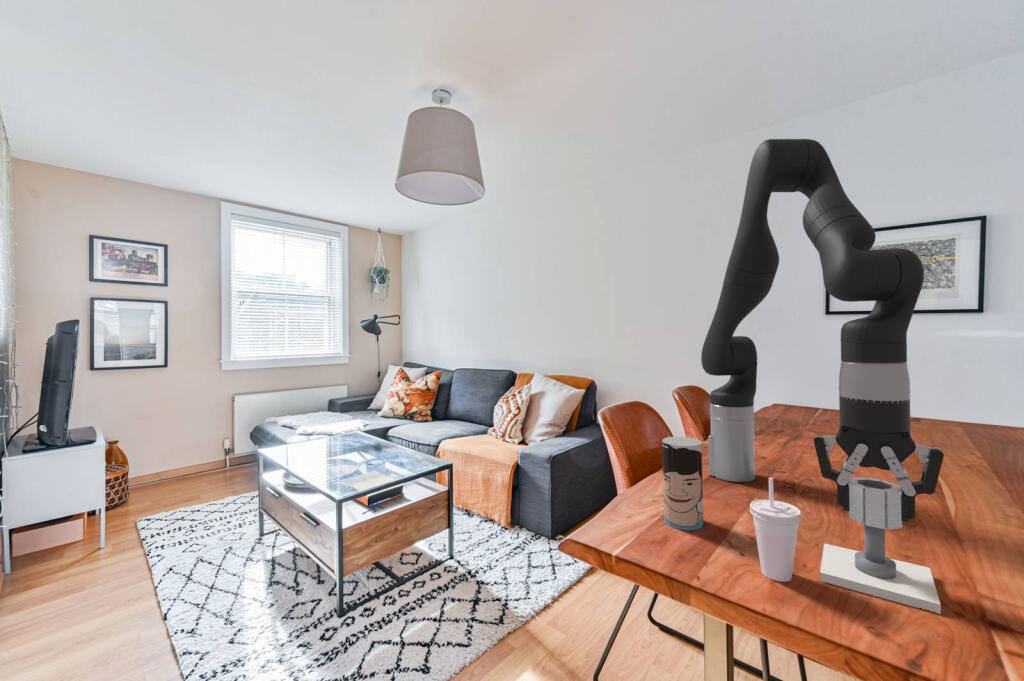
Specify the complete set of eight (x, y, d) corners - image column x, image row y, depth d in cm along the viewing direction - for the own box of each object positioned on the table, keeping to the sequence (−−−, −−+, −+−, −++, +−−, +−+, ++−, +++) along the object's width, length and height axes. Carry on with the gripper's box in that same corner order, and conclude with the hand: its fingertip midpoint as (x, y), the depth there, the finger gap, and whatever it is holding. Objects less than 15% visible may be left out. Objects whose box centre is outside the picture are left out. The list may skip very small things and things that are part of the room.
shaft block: (820, 580, 60) (819, 515, 60) (824, 550, 68) (823, 493, 68) (940, 614, 53) (940, 539, 52) (929, 576, 60) (929, 511, 60)
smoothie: (741, 563, 65) (739, 471, 65) (781, 560, 66) (780, 469, 65) (770, 589, 59) (768, 487, 58) (814, 585, 59) (813, 484, 59)
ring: (848, 522, 60) (848, 486, 59) (849, 508, 64) (848, 474, 64) (903, 532, 56) (902, 494, 56) (899, 517, 60) (899, 482, 60)
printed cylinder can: (656, 518, 81) (654, 439, 81) (683, 511, 84) (681, 435, 84) (683, 533, 75) (681, 448, 75) (711, 525, 78) (710, 442, 77)
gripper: (808, 394, 61) (810, 512, 62) (951, 402, 52) (952, 540, 53) (812, 388, 67) (813, 495, 67) (941, 394, 58) (943, 518, 58)
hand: (874, 514), depth 60 cm, fingers closed on ring, 5 cm apart
